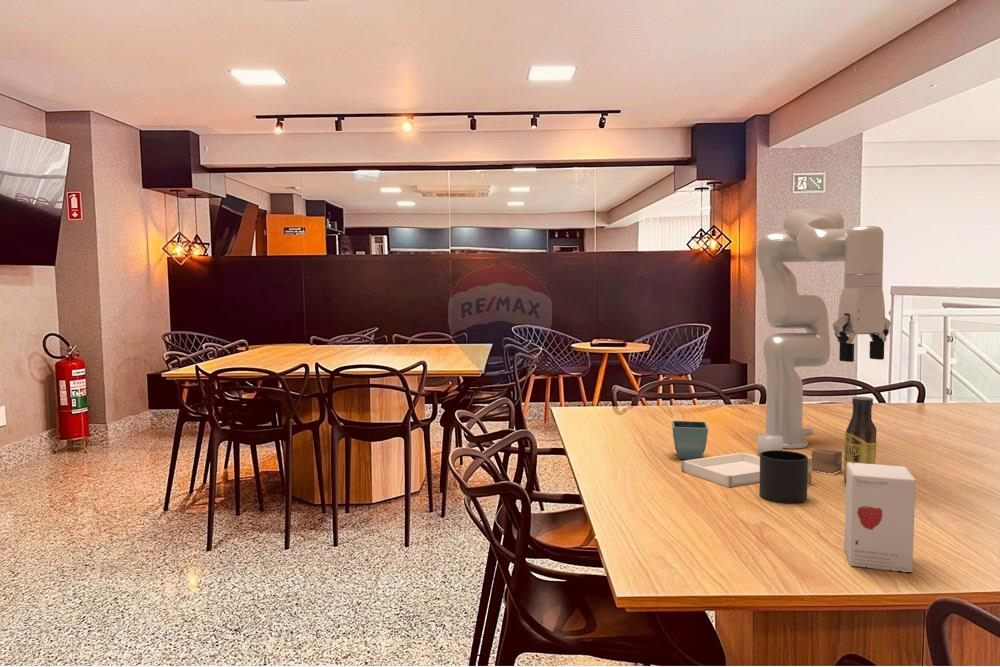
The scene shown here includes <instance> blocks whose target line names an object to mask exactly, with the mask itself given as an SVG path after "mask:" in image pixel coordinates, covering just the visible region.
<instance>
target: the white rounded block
mask: <svg viewBox="0 0 1000 667" xmlns="http://www.w3.org/2000/svg"><path fill="white" fill-rule="evenodd" d="M756 450H757V454H756V456H759V457H760V453H761V452H764V451H772V450H781V451H784V448H783V436H781V435H777V434H766V433H759V434H758V435H757V449H756Z"/></svg>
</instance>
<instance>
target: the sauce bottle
mask: <svg viewBox="0 0 1000 667" xmlns="http://www.w3.org/2000/svg"><path fill="white" fill-rule="evenodd" d="M873 405H874V399H873V398H872V397H869V396H868V397H867V396H853V397H852V414H851V415H852V416H851V419H850V421H849V423H848V425H847V428H846V430H845V434H844V435H845V436H844V460H843V480H844V481H843V482H844V483H845V485H846V476H847V463H848V462H850V463H864V464H876V458H877V456H876V454H877V427H876V425H875V424H874V422H873V420H872V418H873V417H872V410H873V409H872V407H873Z"/></svg>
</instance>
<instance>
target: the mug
mask: <svg viewBox="0 0 1000 667" xmlns="http://www.w3.org/2000/svg"><path fill="white" fill-rule="evenodd" d="M808 457H809V456H807V455H806V454H803V453H801V452H796V451H791V450H790V451H789V450H783V451H781V450H772V451H764V452H761V453H760V482H759V486H758V487H759V490H758V491H759V492H758V493H759V495H760V497H761V498H763V499H765V500H767V501H771V502H774V501H775V502H774V503H780V502H781V504H799V502H800V503H803V502H806V501H807V499H808V485H807V477H808Z"/></svg>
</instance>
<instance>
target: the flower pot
mask: <svg viewBox="0 0 1000 667" xmlns="http://www.w3.org/2000/svg"><path fill="white" fill-rule="evenodd" d="M671 425H672V426H671V427H672V435H673V436H672V437H673V443H674V444H673V445H674V449H675V451H676V455H677V456H678V458H679V459H681V460H693V459H700V458H703V457H702V456H704V453H705V451H706V447H707V440H708V433H709V427H708V424H707V422H706V421H689V420H684V421H683V420H671Z"/></svg>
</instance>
